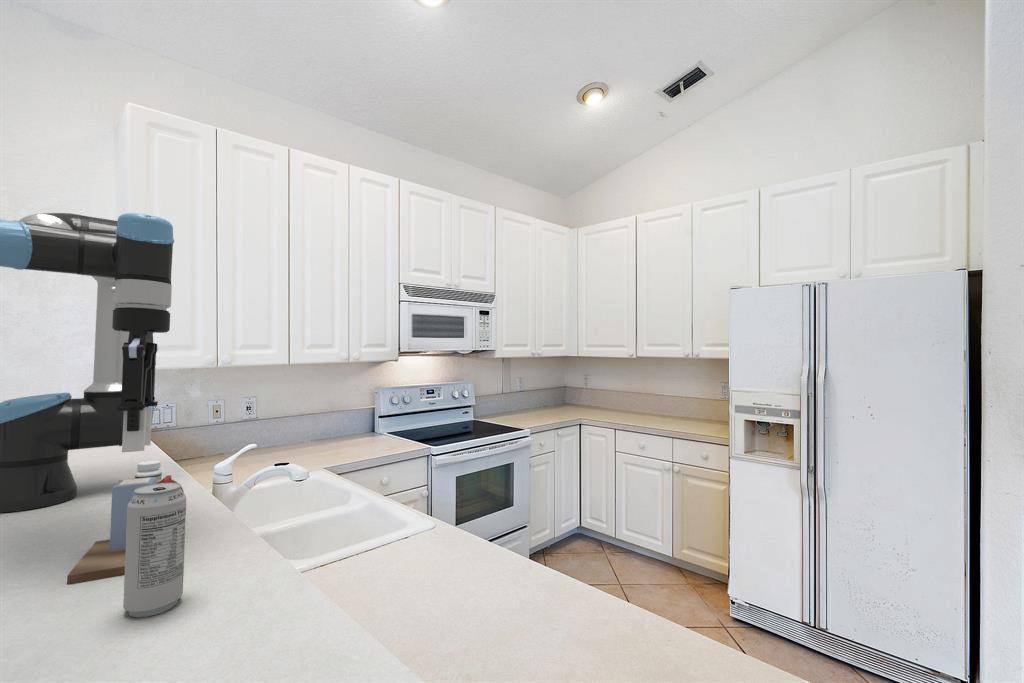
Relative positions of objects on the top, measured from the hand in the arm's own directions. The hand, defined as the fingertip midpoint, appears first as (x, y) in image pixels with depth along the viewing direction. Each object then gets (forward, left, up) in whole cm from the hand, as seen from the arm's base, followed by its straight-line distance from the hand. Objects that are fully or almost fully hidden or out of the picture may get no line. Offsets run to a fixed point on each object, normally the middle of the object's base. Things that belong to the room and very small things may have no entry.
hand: (136, 448), depth 77 cm
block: (0, 0, -16) cm, 16 cm away
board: (+3, 0, -17) cm, 17 cm away
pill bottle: (-33, -3, -17) cm, 37 cm away
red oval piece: (-19, +2, -17) cm, 26 cm away
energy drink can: (+23, +6, -17) cm, 29 cm away
